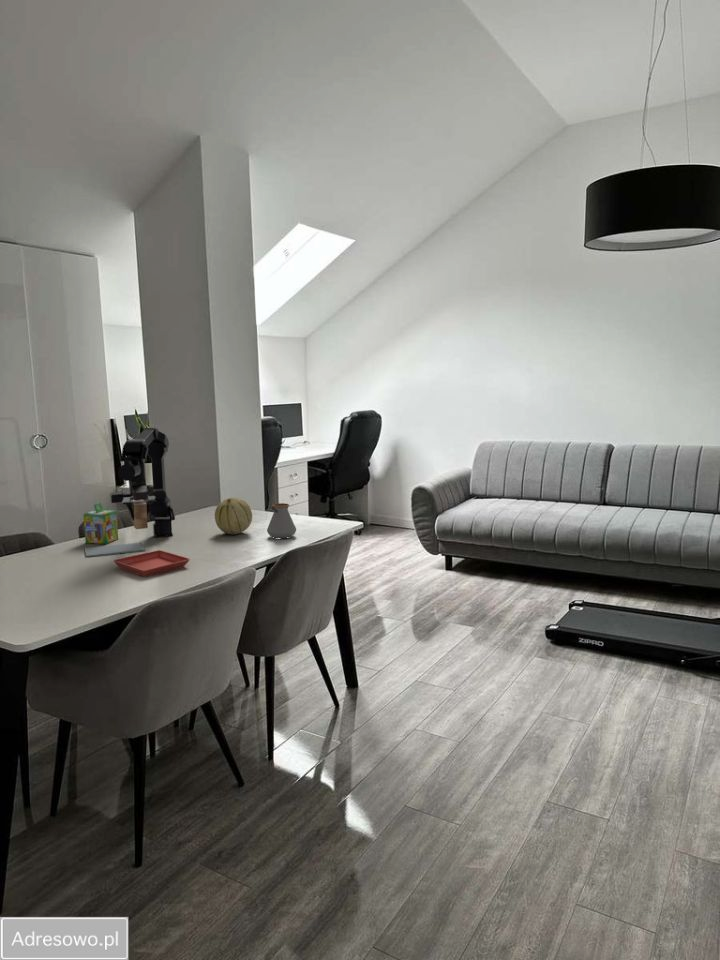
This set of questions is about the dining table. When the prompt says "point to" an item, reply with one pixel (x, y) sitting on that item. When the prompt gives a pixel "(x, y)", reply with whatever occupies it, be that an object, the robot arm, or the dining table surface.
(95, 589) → the dining table surface
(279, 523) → the coffee pot
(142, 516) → the block
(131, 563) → the plant saucer
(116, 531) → the colorful printed box
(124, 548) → the mat
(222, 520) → the cantaloupe
